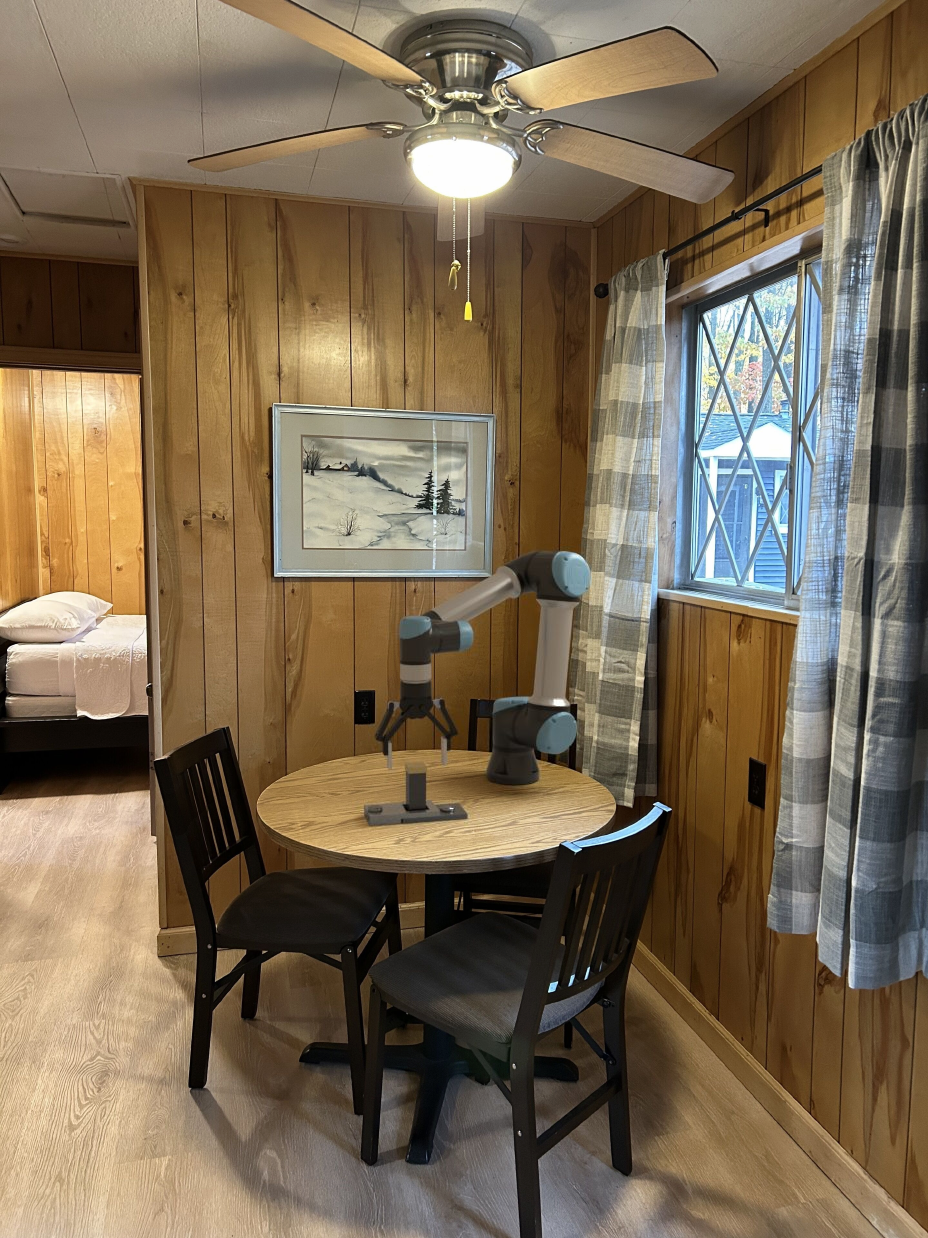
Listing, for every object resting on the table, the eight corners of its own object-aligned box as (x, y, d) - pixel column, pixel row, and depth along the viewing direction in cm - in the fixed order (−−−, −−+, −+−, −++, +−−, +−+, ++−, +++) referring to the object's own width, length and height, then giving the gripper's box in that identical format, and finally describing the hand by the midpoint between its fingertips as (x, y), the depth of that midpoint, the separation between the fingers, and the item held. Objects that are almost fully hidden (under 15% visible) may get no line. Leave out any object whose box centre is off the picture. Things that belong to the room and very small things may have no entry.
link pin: (423, 813, 226) (423, 761, 225) (427, 818, 222) (427, 766, 220) (404, 814, 225) (404, 763, 223) (408, 820, 220) (408, 767, 219)
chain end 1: (431, 809, 229) (431, 798, 228) (439, 820, 220) (439, 808, 220) (364, 814, 224) (364, 802, 224) (369, 826, 216) (369, 814, 215)
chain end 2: (458, 807, 230) (458, 800, 230) (467, 818, 222) (467, 811, 222) (396, 812, 226) (396, 805, 226) (403, 823, 218) (403, 816, 218)
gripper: (461, 675, 226) (462, 758, 229) (362, 680, 220) (363, 766, 223) (469, 680, 219) (470, 766, 222) (366, 686, 213) (368, 774, 215)
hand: (417, 766), depth 222 cm, fingers open, 13 cm apart
